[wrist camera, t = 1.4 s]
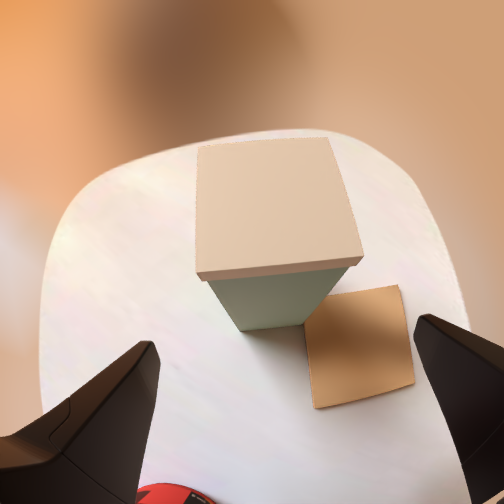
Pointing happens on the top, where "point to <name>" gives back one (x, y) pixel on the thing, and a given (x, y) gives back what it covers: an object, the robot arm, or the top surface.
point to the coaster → (358, 346)
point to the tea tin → (272, 228)
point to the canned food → (170, 495)
